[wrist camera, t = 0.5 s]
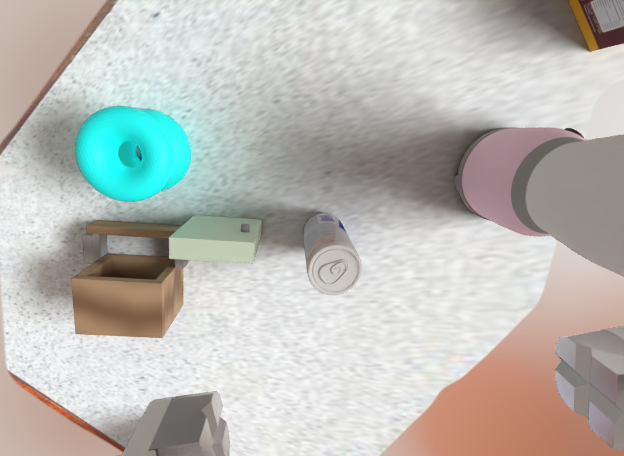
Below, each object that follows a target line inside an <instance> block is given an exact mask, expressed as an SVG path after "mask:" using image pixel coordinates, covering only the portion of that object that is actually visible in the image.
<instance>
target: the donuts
mask: <svg viewBox="0 0 624 456" xmlns="http://www.w3.org/2000/svg"><path fill="white" fill-rule="evenodd" d="M136 146H138V147H139V148H140V151H141V154H142V160H140V159H139V158H138V156H137V154H136ZM75 153H76V160H77V163H78V166H79V168H80V171H81V172H82V174H83V176H84V177H85V179H86V180H87V181H88V182H89V184H90V185H91V186H92V187H93V188H95V189H96V190H97V191H99V192H100V193H102V194H103V195H105V196H107V197H109V198H112V199H115V200H119V201H127V202H134V201H140V200H144V199H147V198H149V197H152V196H153V195H155V194H157V193H158V192H159V191H162V190H165V189H168V188H170V187H172V186H174V185H175V184H177V183H178V182H179V181H180V180H181V179H182V178H183V177H184V175H185V174H186V172H187V170H188V167H189V164H190V159H191V149H190V144H189V141H188V138H187V136H186V134H185V132H184V131H183V129H182V128H181V127H180V125H179V124H178V123H177V122H176V121H175V120H173V119H172V118H171V117H169V116H167V115H166V114H164V113H161V112H158V111H154V110H147V109H142V110H138V109H135V108H131V107H125V106H113V107H108V108H104V109H102V110H99V111H97V112H96V113H94V114H93V115H91V116H90V117H89V118H88V119H87V120H86V121H85V122H84V123H83V125H82V126H81V128H80V130H79V132H78V135H77V138H76V144H75Z"/></svg>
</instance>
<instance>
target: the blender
mask: <svg viewBox="0 0 624 456" xmlns="http://www.w3.org/2000/svg"><path fill="white" fill-rule="evenodd" d="M454 181H455V188H456V191H458V192H459V194H460V197H461V199H462V201H463V202H464V204H465V205H466V206H467V208H468V209H469V210H471V211H472V212H473V213H475V214H476V215H478V216H480V217H482V218H484V219H487V220H490V221H493V222H495V223H497V224H499V225H501V226H503V227H505V228H508V229H510V230H512V231H514V232H517V233H520V234H523V235H529V236H553V237H554V238H555V239H556V240H558V241H560V242H561V243H563V244H564V245H566V246H567V247H568V248H570V249H571V250H573V251H574V252H576V253H577V254H579V255H581V256H582V257H584V258H586V259H588V260H590V261H591V262H593V263H595V264H597V265H599V266H602V267H604V268H606V269H608V270H610V271H613V272H615V273H617V274H619V275H621V276H624V135H618V136H611V137H606V138H597V139H592V140H586V139H584V137H583V136H582V135H581V134H580V133H579V132H578V131H576V130H574V129H571V128H566V129H564V130H563V129H558V128H500V129H496V130H493V131H490V132H488V133H486V134H484V135H482V136H481V137H480V138H478V139H477V140H476V141H475V142H474V143H473V144H472V145H471V146H470V147H469V148H468V149H467V151H466V152H465V154H464V156H463V158H462V160H461V162H460V165H459V169H458V175H457V176H455V178H454Z"/></svg>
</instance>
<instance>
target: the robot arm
mask: <svg viewBox="0 0 624 456" xmlns="http://www.w3.org/2000/svg"><path fill="white" fill-rule="evenodd" d="M556 354H557V356H558V357H559V358H560V359H561V360H562V361H561V362H560V364H559V365H558V367H557V368H556V369H555V379H556V385H557V387H558V390H559V393H560V395H561V397H562V398H563V400H564V401H565V403H566V404H567V405H568V406H569V407H570V408H571V409H572V410H573V411H574V412H576V413H579V414H581V415H583V416H585V417H588V424H589V427H590V428H591V429H592V430H593V431H594V432H595V433H596V434H597V435H598V436H599V437H600V438H601V439H602V440H603V441H604V442H605V443H606V444H607V445H608V446H609V447H610V448H611V449H612V450H618V449H624V326H618V327H613V328H608V329H602V330H600V331H595V332H588V333H583V334H577V335H571V336H565V337H559V338H558V340H557V343H556ZM222 407H223V406H222V402H221V398H220V395H219V393H218V392H217V391H213V392H206V393H199V394H191V395H184V396H176V397H169V398H163V399H157V400H153V401H152V402H150V403H149V405H148V407H147V409H146V410H145V412H144V414H143V416H142V418H141V420H140V422H139V424H138V425H137V427H136V429H135V431H134V433H133V435H132V437H131V439H130V441H129V442H128V444H127V446H126V448H125V450H124V452H123V454H122V455H119V456H229V449H230V440H229V431H228V427H227V422H226V421H224V420H223V419H222V418H221V417H220V415H221V411H222Z"/></svg>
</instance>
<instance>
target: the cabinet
mask: <svg viewBox="0 0 624 456" xmlns="http://www.w3.org/2000/svg"><path fill="white" fill-rule="evenodd" d="M180 227H181V226H180V225H164V224H149V223H134V222H119V221H103V220H97V221H95V222H93V223H91V224H89V225H87V226H86V230H87V233H86V234H84V235H83V250H84V263H94V262H95V263H94V264H92V265H91V266H89V267H88V268H86V269H85V270H83V271H82V272H80V273H79V274H77V275H76V276H74V277H73V278H71V281H72V294H73V307H74V319H75V332H76V334H86V335H108V336H130V337H151V338H163V336H164V335H165V333H166V331H167V330H168V328H169V327H170V325H171V323H172V322H173V320H174V319H175V317H176V315H177V314H178V312H179V311H180V309H181V307H182V306H183V268H184V267H185V266H186V265H187V263H188V262H189V261H190V260H182V259H169V257H158V256H141V255H125V254H107V235H121V236H136V237H152V238H168V239H169V237H170V236H171V235H172V234H173V233H175V232H176V231H177V230H178V229H179V228H180ZM106 254H107V255H106ZM104 255H105V256H104ZM103 256H104V257H103ZM100 258H101V259H100ZM97 260H98V261H97Z"/></svg>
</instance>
